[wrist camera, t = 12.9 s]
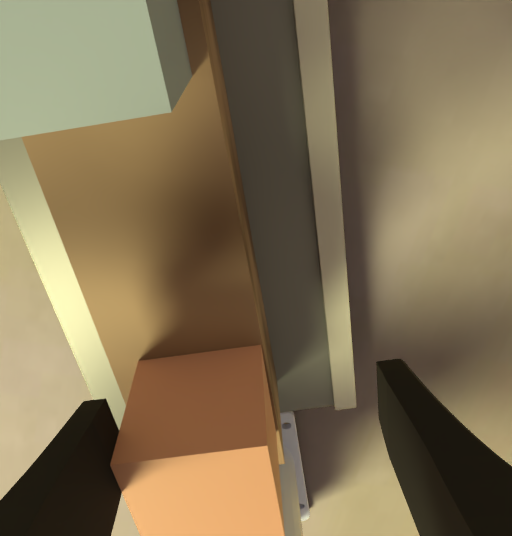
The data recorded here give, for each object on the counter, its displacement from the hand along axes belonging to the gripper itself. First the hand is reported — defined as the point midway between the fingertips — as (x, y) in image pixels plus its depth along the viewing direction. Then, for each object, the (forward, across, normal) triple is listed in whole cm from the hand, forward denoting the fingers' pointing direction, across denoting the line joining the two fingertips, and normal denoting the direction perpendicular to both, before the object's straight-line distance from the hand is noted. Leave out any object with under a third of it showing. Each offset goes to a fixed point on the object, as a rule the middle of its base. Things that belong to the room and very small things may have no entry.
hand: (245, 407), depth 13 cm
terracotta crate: (+3, +2, +2) cm, 4 cm away
